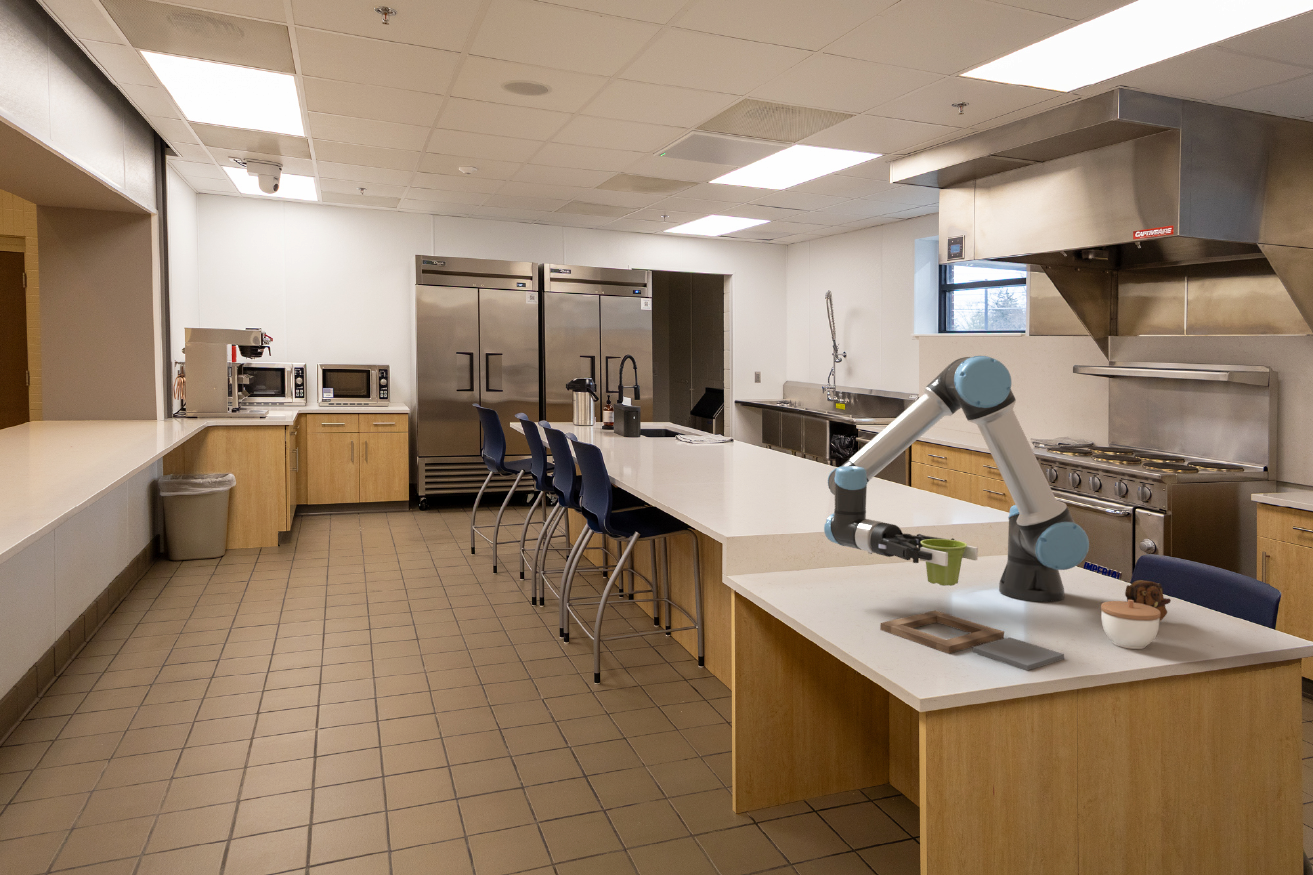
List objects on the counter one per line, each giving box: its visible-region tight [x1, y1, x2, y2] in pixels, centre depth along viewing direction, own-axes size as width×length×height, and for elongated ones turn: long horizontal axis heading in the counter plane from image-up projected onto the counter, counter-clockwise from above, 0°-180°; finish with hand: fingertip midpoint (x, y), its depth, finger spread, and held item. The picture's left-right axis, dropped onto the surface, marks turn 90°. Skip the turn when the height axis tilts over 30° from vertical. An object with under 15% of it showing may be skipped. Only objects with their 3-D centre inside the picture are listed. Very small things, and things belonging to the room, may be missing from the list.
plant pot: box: [921, 538, 968, 587], centre depth 175 cm, size 9×9×9 cm
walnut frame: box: [879, 610, 1005, 655], centre depth 176 cm, size 18×18×2 cm
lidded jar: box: [1100, 600, 1161, 650], centre depth 169 cm, size 11×11×9 cm
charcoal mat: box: [972, 636, 1065, 671], centre depth 163 cm, size 12×12×1 cm
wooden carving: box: [1124, 579, 1171, 623], centre depth 182 cm, size 16×5×10 cm, turn 122°
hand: (961, 556), depth 171 cm, fingers closed on plant pot, 9 cm apart
